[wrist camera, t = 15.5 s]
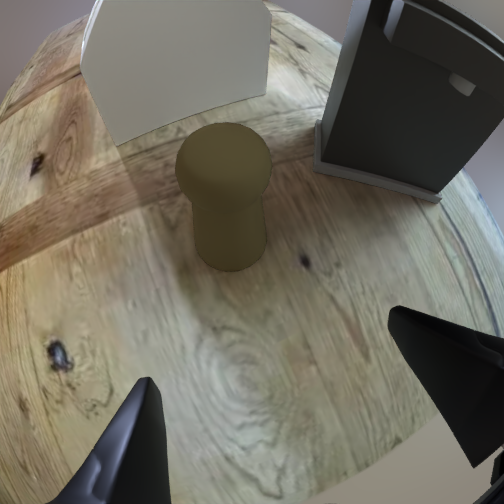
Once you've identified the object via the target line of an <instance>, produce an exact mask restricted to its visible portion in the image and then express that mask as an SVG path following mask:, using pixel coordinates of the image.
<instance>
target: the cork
mask: <svg viewBox="0 0 504 504" xmlns="http://www.w3.org/2000/svg"><path fill="white" fill-rule="evenodd" d="M271 171H272V161H271V155H270V151H269V148H268V147H267V145H266V143H265V142H264V140H263V139H262V138H261V137H260V136H259V135H258V134H257V133H256V132H255V131H253V130H252V129H251V128H248V127H246V126H243V125H241V124H236V123H229V122H225V123H214V124H211V125H207V126H204V127H202V128H200V129H198V130H196V131H195V132H193V133H192V134H191V135H190V136H189V137H188V138H187V139H186V140H185V141H184V143H183V144H182V146H181V148H180V150H179V152H178V154H177V158H176V168H175V173H176V177H177V180H178V183H179V186H180V189H181V191H182V192H183V193H184V194H185V195H186V196H187V198H188V199H189V200H190V201H191V202H192V211H193V224H194V236H195V245H196V248H197V251H198V254H199V255H200V256H201V258H202V259H203V260H204V261H205V263H207V264H208V265H210V266H212V267H213V268H215V269H218V270H222V271H226V272H227V271H239V270H242V269H245V268H247V267H250V266H251V265H252V264H253V263H255V262H256V261H257V260H258V259H259V258H260V256H261V255H262V253H263V252H264V250H265V246H266V242H267V235H266V226H265V219H264V211H263V204H262V196H261V194H262V193H263V192H264V190H265V189H266V187H267V186H268V183H269V179H270V176H271Z"/></svg>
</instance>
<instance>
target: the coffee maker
mask: <svg viewBox="0 0 504 504" xmlns="http://www.w3.org/2000/svg"><path fill="white" fill-rule="evenodd" d="M503 118H504V41H503V40H502V39H501V38H500V37H499V36H497V35H496V34H495V33H493V32H492V31H491V30H489V29H488V28H487V27H485V26H484V25H483V24H481V23H480V22H478V21H477V20H475V19H474V18H472V17H471V16H469V15H468V14H466V13H464V12H463V11H461V10H460V9H458V8H457V7H455V6H453V5H451V4H450V3H448V2H446V1H444V0H353V5H352V9H351V13H350V17H349V21H348V25H347V29H346V33H345V37H344V41H343V45H342V49H341V52H340V56H339V60H338V64H337V67H336V71H335V75H334V79H333V82H332V86H331V89H330V93H329V97H328V100H327V104H326V107H325V111H324V114H323V118H322V120H319V119H317V120H316V123H315V134H314V159H313V172H317V173H322V174H327V175H331V176H336V177H340V178H345V179H349V180H354V181H358V182H362V183H366V184H370V185H374V186H378V187H382V188H385V189H389V190H393V191H396V192H400V193H403V194H407V195H410V196H414V197H417V198H420V199H423V200H427V201H430V202H433V203H436V204H437V203H438V202H439V201H440V200H441V199H442V195H441V190H442V189H443V188H444V187H445V186H446V185H447V184H448V183H449V182H450V181H451V180H452V179H453V178H454V177H455V175H456V174H457V173H458V172H459V171H460V170H461V169H462V168H463V167H464V165H465V164H466V163H467V162H468V161H469V160H470V158H471V157H472V156H473V155H474V154H475V153H476V152H477V151H478V149H479V148H480V147H481V146H482V145H483V143H484V142H485V141H486V139H488V137H489V136H490V135H491V133H492V132H493V131H494V130H495V129H496V127H497V126H498V125H499V123H500V122H501V121H502V119H503Z"/></svg>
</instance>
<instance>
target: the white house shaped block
mask: <svg viewBox="0 0 504 504" xmlns="http://www.w3.org/2000/svg"><path fill="white" fill-rule="evenodd" d="M271 22H272V14H271V13H270V11H269V10H268V8H267V7H266V5H265V4H264V2H263V1H262V0H96V3H95V5H94V7H93V10H92V12H91V15H90V17H89V20H88V23H87V26H86V29H85V32H84V38H83V45H82V52H81V61H80V70H81V72H82V75H83V77H84V79H85V82H86V84H87V86H88V88H89V91H90V93H91V95H92V97H93V100H94V102H95V104H96V106H97V108H98V110H99V113H100V115H101V117H102V119H103V121H104V123H105V125H106V127H107V129H108V131H109V133H110V135H111V137H112V139H113V141H114V143H115V145H116V147H117V146H119V145H121V144H123V143H125V142H127V141H129V140H132V139H134V138H136V137H138V136H141V135H143V134H145V133H148V132H150V131H152V130H155V129H157V128H160V127H162V126H165V125H167V124H170V123H172V122H175V121H178V120H181V119H183V118H186V117H189V116H192V115H195V114H198V113H201V112H204V111H207V110H210V109H213V108H216V107H219V106H223V105H226V104H230V103H233V102H237V101H240V100H244V99H248V98H252V97H256V96H260V95H264V94H266V87H267V74H268V61H269V48H270V35H271Z"/></svg>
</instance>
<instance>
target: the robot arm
mask: <svg viewBox="0 0 504 504" xmlns="http://www.w3.org/2000/svg"><path fill="white" fill-rule="evenodd" d="M388 330H389V332H390V334H391V335H392V337H393V339H394V341H395V342H396V344H397V346H398V348H399V350H400V352H401V353H402V355H403V357H404V359H405V360H406V362H407V363H408V365H409V366H410V368H411V369H412V370H413V372H414V373H415V375H416V376H417V378H418V379H419V381H420V382H421V384H422V385H423V387H424V388H425V390H426V391H427V393H428V394H429V396H430V397H431V399H432V400H433V402H434V403H435V405H436V407H437V408H438V410H439V411H440V413H441V414H442V416H443V418H444V419H445V421H446V422H447V424H448V426H449V427H450V429H451V431H452V432H453V434H454V436H455V437H456V439H457V441H458V443H459V444H460V446H461V448H462V450H463V451H464V453H465V455H466V456H467V458H468V460H469V462H470V463H471V466H472V467H473V468H475V467H477V466H478V465H479V464H481V463H482V462H483V461H484V460H485V459H487V458H488V457H489V456H490V455H491V454H493V453H494V452H495V451H496V450H497V449H498V448H499V447H500V446H502V447H503V449H504V338H500V337H496V336H492V335H488V334H485V333H482V332H479V331H476V330H475V331H474V330H473V329H470V328H467V327H464V326H461V325H458V324H455V323H452V322H449V321H446V320H443V319H440V318H437V317H434V316H431V315H428V314H425V313H422V312H419V311H416V310H413V309H410V308H407V307H404V306H400V305H399V306H396V307H394V308H391V310H390V312H389V318H388ZM490 483H491V485H492V486H491V487H490V489H488V491H486V492H485V493H484V494H483V495H482V496H481V497H480V498H479V499H478V500H476V501H475V502H474V503H473V504H504V450H503V451H502V452H501V453H500V454H499V455H498V456H497V457H496V458H495V460H494V467H493V472H492V477H491V482H490ZM45 504H171V496H170V485H169V473H168V458H167V437H166V427H165V420H164V413H163V406H162V398H161V393H160V391H159V389H158V387H157V386H156V384H155V383H154V381H153V380H152V378H151V377H143V378H139V379H138V381H137V382H136V384H135V385H134V387H133V388H132V390H131V391H130V393H129V394H128V396H127V397H126V399H125V400H124V402H123V403H122V405H121V406H120V408H119V409H118V411H117V412H116V414H115V415H114V417H113V418H112V420H111V421H110V423H109V424H108V426H107V427H106V429H105V430H104V432H103V434H102V435H101V437H100V438H99V440H98V441H97V443H96V444H95V446H94V449H92V450H91V452H90V454H89V455H88V457H87V458H86V460H85V461H84V463H83V464H82V466H81V467H80V468H79V470H78V471H77V472H76V473H75V475H74V476H73V477H72V479H71V480H70V481H69V482H68V484H67V485H66V486H65V487H64V488H63V490H62V491H61V492H60V493H59V495H58V496H57V497H56V498H54V499H53V500H52V501H50V502H48V503H45Z"/></svg>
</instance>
